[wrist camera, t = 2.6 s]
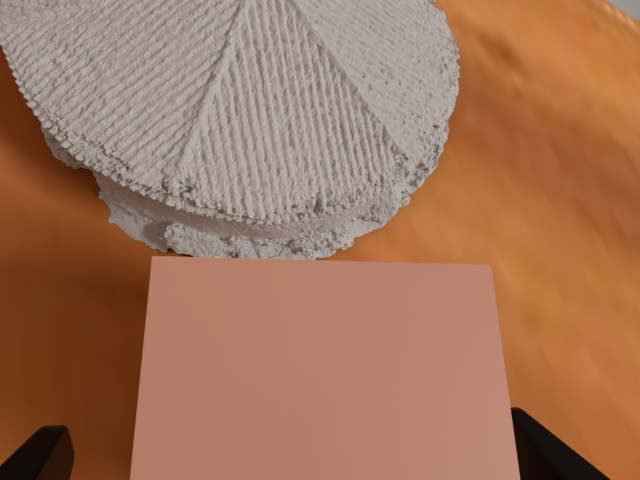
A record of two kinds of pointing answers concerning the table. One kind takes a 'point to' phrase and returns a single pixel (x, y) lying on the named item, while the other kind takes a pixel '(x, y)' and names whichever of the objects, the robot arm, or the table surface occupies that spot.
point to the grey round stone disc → (240, 113)
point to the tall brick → (322, 372)
